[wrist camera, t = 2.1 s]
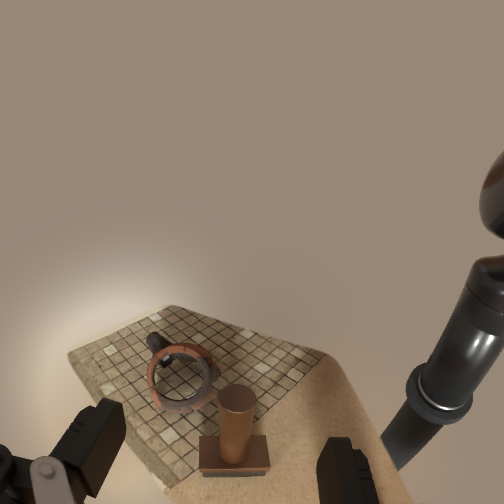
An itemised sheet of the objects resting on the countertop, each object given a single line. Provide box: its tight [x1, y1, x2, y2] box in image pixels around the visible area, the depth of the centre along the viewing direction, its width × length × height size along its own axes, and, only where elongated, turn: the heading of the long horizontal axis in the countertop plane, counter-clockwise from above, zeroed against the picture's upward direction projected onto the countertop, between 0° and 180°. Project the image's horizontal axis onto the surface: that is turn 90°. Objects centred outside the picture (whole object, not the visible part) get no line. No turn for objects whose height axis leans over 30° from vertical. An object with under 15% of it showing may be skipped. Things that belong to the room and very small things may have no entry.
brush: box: [199, 384, 270, 477], centre depth 24 cm, size 7×4×13 cm, turn 95°
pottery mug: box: [146, 332, 221, 414], centre depth 35 cm, size 12×10×8 cm
